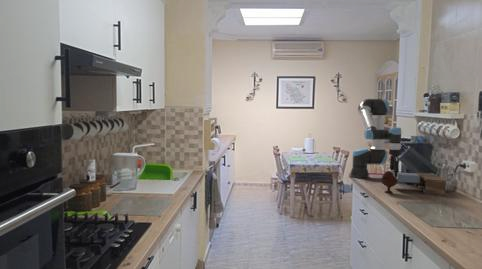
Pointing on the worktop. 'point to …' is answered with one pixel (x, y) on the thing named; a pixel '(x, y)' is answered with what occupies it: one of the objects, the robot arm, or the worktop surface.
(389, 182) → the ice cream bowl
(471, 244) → the worktop surface
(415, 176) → the grey slate tile
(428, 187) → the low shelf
